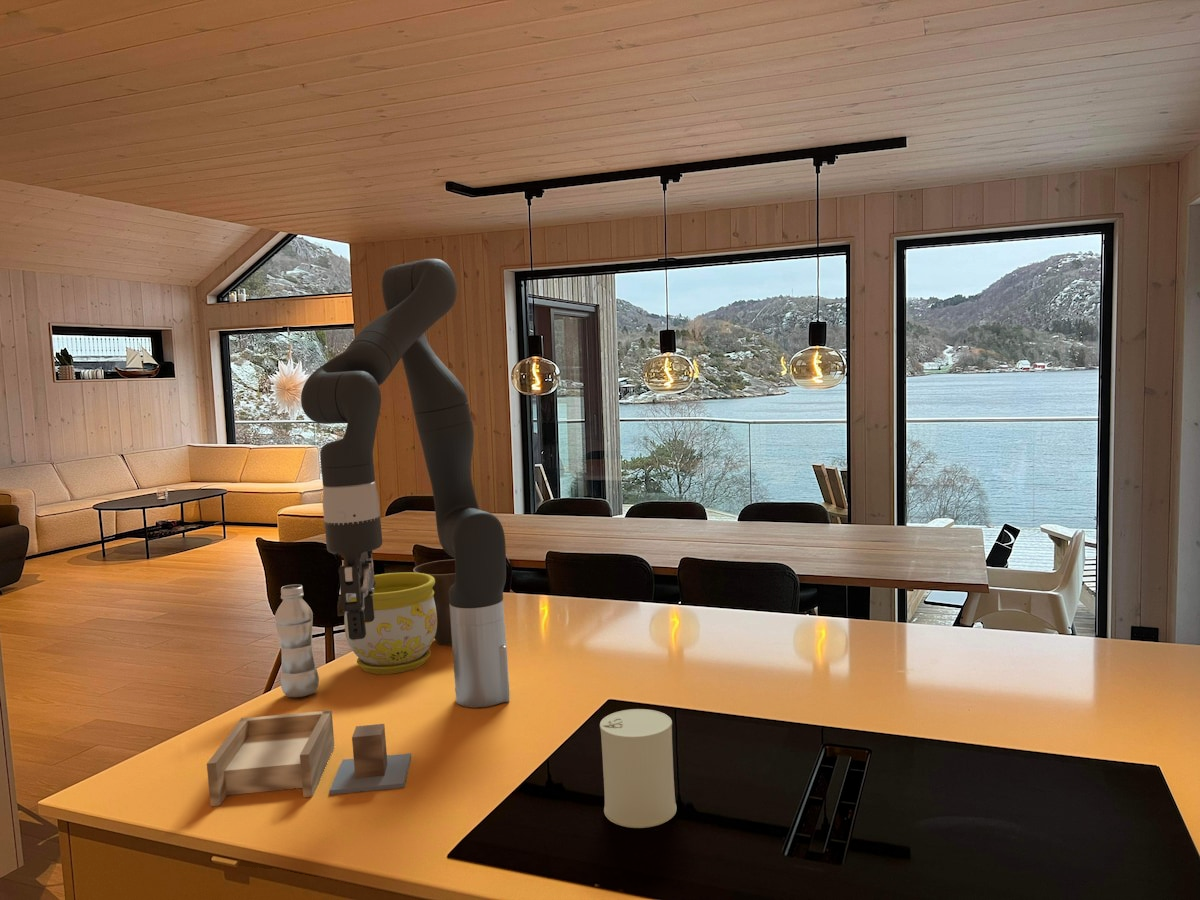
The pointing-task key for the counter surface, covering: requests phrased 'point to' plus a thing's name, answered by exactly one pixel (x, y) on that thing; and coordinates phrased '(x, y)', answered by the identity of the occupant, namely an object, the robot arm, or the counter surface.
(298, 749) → the crate
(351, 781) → the mat
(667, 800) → the can
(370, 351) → the robot arm
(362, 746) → the block
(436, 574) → the plant pot
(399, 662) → the flowerpot
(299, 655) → the plastic bottle
